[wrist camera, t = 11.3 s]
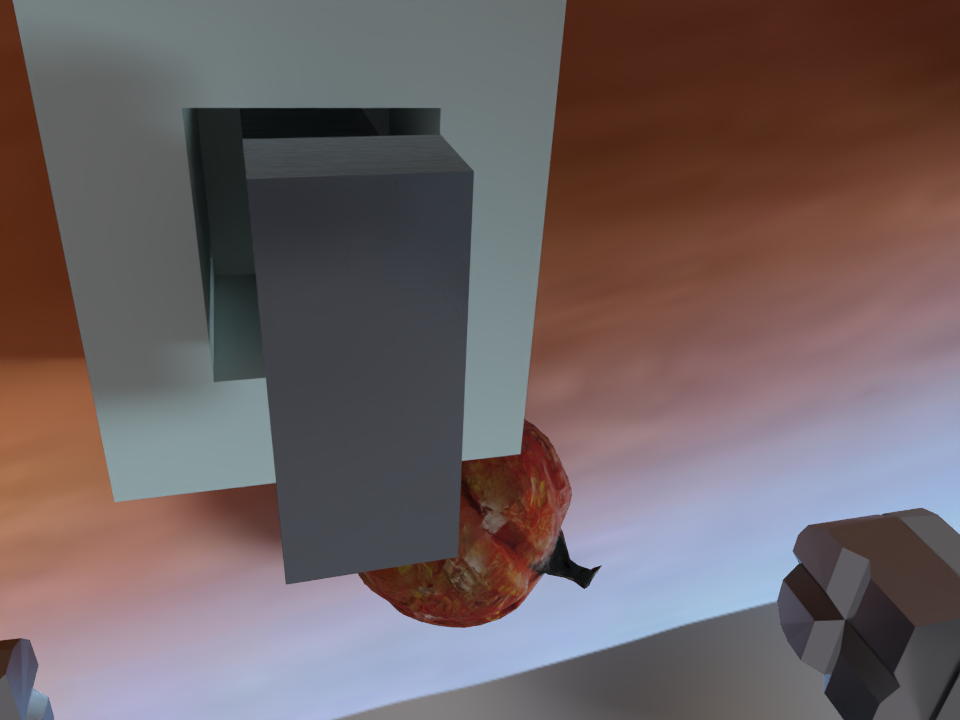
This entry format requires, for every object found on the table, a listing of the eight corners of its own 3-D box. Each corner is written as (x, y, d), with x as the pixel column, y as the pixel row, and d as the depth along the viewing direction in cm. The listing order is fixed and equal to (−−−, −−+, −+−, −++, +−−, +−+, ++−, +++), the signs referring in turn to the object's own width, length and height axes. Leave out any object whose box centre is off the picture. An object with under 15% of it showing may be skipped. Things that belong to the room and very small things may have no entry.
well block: (476, -67, 22) (571, -50, 16) (456, 334, 27) (520, 453, 22) (64, -90, 19) (-5, -82, 13) (138, 358, 25) (114, 501, 19)
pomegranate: (324, 488, 32) (536, 640, 30) (226, 542, 25) (496, 745, 23) (420, 329, 31) (646, 480, 29) (346, 338, 23) (641, 539, 22)
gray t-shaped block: (352, 38, 21) (474, 171, 11) (360, 285, 25) (457, 556, 14) (232, 37, 20) (246, 179, 10) (257, 292, 24) (285, 584, 14)
